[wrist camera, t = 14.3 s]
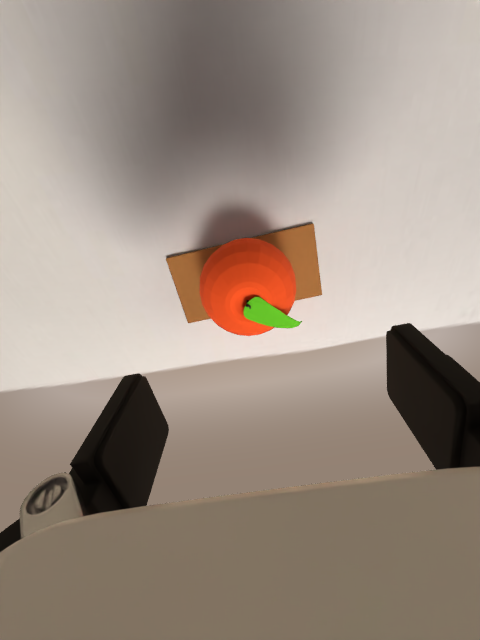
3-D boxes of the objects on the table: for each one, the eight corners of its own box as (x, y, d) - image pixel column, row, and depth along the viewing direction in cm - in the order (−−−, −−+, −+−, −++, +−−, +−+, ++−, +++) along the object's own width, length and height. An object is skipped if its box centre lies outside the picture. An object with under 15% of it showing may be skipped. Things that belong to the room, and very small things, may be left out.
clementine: (315, 262, 24) (344, 293, 17) (271, 329, 26) (281, 377, 20) (228, 213, 22) (224, 227, 16) (191, 289, 25) (173, 327, 18)
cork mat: (312, 223, 23) (313, 223, 22) (320, 293, 25) (322, 295, 25) (166, 257, 24) (165, 258, 23) (188, 321, 26) (188, 323, 26)
